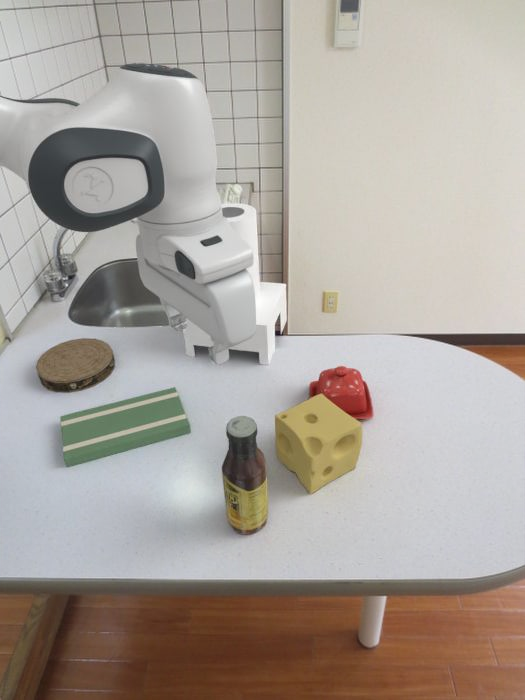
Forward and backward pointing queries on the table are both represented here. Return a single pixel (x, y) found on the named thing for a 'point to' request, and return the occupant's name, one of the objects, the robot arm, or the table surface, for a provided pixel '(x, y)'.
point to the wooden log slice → (75, 365)
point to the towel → (122, 426)
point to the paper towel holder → (266, 294)
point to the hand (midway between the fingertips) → (198, 343)
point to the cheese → (317, 441)
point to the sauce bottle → (244, 477)
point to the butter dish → (344, 391)
